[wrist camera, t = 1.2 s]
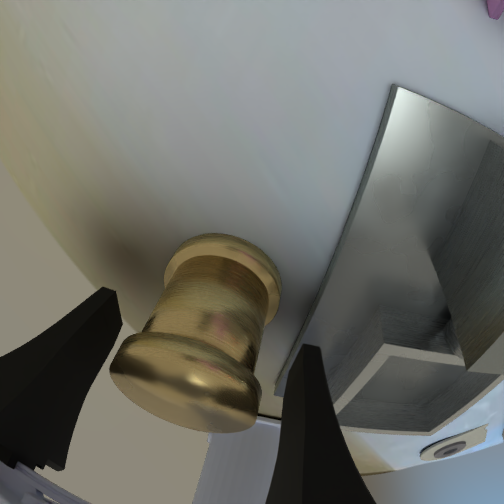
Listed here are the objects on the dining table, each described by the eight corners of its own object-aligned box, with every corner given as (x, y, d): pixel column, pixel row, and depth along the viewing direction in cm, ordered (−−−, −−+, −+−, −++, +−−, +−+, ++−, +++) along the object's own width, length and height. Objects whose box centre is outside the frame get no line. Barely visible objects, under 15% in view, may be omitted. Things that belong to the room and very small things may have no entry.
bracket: (414, 443, 23) (416, 474, 20) (510, 409, 18) (516, 441, 16) (424, 457, 26) (425, 483, 23) (505, 429, 21) (509, 456, 18)
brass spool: (268, 330, 15) (244, 443, 11) (171, 304, 16) (123, 405, 11) (294, 250, 12) (272, 389, 7) (172, 220, 12) (94, 333, 8)
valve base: (445, 407, 18) (451, 488, 12) (275, 384, 18) (255, 484, 13) (606, 202, 7) (678, 293, 2) (397, 66, 7) (524, 108, 2)
